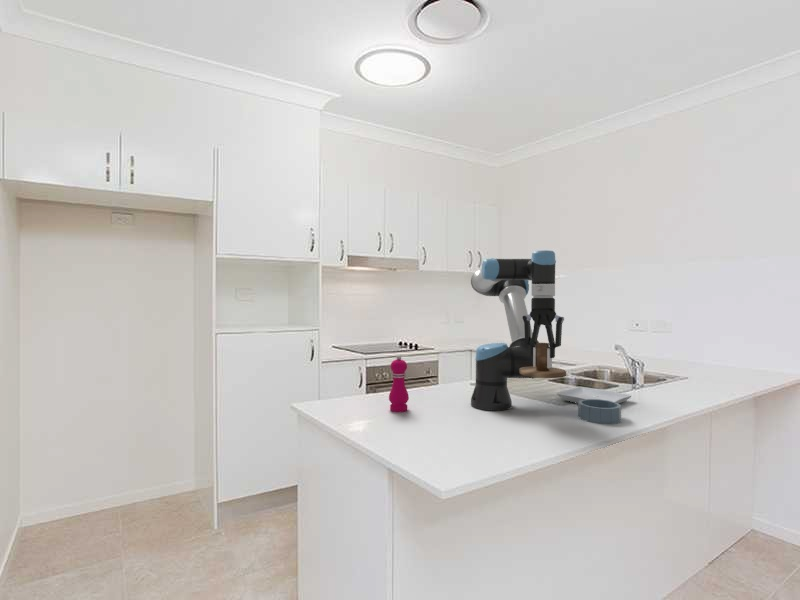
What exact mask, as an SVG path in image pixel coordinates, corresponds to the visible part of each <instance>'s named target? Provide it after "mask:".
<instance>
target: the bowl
mask: <svg viewBox="0 0 800 600" xmlns="http://www.w3.org/2000/svg"><path fill="white" fill-rule="evenodd" d="M578 416H579V417H580V418H581V419H580V418H579V417H578ZM577 417H578V418H579V419H580V420H582V419H583V420H582V421H585V420H586V421H585V422H589V423H593V422H594V424H600V425H603V424H604V425H613V423H615V424H619V423H621V421H622V404H620V403H616V402H612V401H608V400H600V399H585V400H580V401H579V402H578V404H577ZM618 422H619V423H618Z"/></svg>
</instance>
